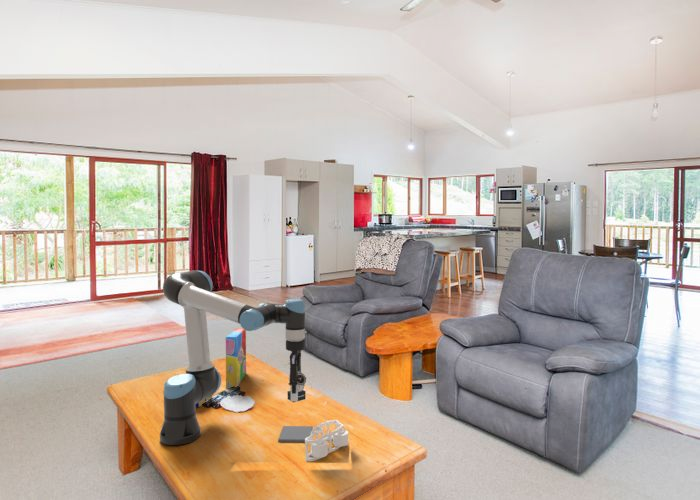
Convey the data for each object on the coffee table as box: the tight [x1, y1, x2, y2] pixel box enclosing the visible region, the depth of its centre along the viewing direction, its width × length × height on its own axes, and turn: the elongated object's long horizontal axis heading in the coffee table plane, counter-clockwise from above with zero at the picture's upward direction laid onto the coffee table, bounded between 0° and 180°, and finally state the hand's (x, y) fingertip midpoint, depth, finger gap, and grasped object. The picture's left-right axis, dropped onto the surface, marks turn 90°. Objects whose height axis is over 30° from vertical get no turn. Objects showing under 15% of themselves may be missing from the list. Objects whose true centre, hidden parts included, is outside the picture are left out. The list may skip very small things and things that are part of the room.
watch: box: [287, 371, 307, 403], centre depth 180 cm, size 6×8×11 cm
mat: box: [277, 425, 314, 443], centre depth 180 cm, size 12×12×1 cm
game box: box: [225, 328, 247, 389], centre depth 241 cm, size 21×6×27 cm, turn 179°
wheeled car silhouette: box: [304, 419, 349, 462], centre depth 168 cm, size 20×11×7 cm, turn 139°
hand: (295, 397), depth 180 cm, fingers closed on watch, 8 cm apart
